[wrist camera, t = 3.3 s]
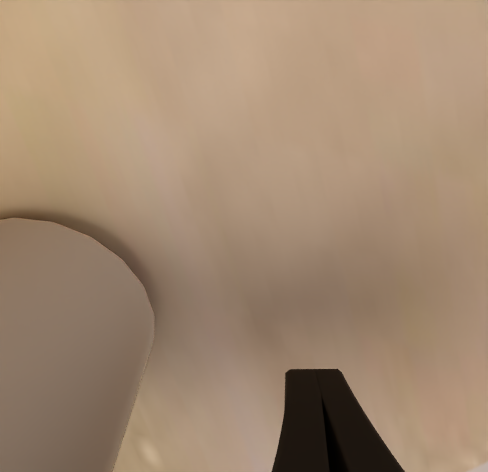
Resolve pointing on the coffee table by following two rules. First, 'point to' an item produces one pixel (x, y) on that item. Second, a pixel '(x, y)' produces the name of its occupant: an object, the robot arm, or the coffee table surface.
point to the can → (67, 348)
